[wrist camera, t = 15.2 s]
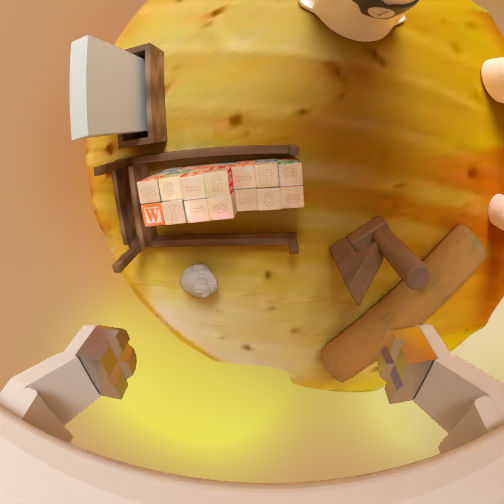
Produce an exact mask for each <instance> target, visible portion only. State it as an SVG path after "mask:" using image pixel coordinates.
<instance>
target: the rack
mask: <svg viewBox="0 0 504 504" xmlns="http://www.w3.org/2000/svg"><path fill="white" fill-rule="evenodd" d="M269 153H289V154H290V155H299V146H296V145H252V146H231V147H216V148H203V149H192V150H182V151H173V152H165V153H157V154H149V155H142V156H136V157H129V158H123V159H119V160H115V162H111V163H108V164H104V165H101V166H98V167H94V175H95V176H98V175H103V174H105V173H108V172H111V171H112V179H113V186H114V193H115V199H116V206H117V211H118V217H119V222H120V228H121V233H122V238H123V243H124V245H129V248H130V249H129V250H128V251H127V252H126V253H124V254H123V255H122V256H121V257H120V258H119V259H118V260H117V261H116V262H115V263H114V264H113V265H112V266H113V270H114V272H115V273H116V272H117V273H121V272H122V271H123V269H124V268H125V267H126V266H127V265H128V264H129V263H130V262H131V261H132V260H133V259H134V258H135V257H136V255H137V254H138V253H139V252H140V251H141V250H142V249H146V248H147V247H183V246H237V245H289V248H290V254H298V248H299V246H298V242H297V238H296V234H295V233H242V234H200V235H168V236H158V234H157V228H156V226H147V227H146V226H145V223H144V219H143V214H142V209H141V205H142V204H140V198H139V192H138V186H137V182H139V181H141V180H143V179H146V178H147V177H149V167H148V163H149V162H157V161H165V160H174V159H184V158H195V157H207V156H221V155H239V154H269ZM134 164H136V165H134ZM130 165H133V166H130ZM126 166H130V167H128V171H129V179H130V187H131V194H132V201H133V207H134V213H135V219H136V225H137V231H138V236H139V237H137V234H136V229H135V223H134V218H133V212H132V205H131V199H130V192H129V185H128V177H127V169H126Z"/></svg>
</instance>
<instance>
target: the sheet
mask: <svg viewBox="0 0 504 504" xmlns="http://www.w3.org/2000/svg"><path fill="white" fill-rule="evenodd" d="M70 119H71V134H72V140H76V139H82V138H90V137H98V136H106V135H116V134H127V133H141V132H148V128H147V112H146V89H145V60H144V59H142V58H140V57H138V56H136V55H134V54H132V53H130V52H128V51H125V50H123V49H121V48H119V47H116V46H114V45H112V44H109V43H107V42H105V41H102V40H99V39H97V38H95V37H92V36H90V35H87V36H85V37H82V38H80V39H78V40H75V41H73V42H72V43H71V58H70Z"/></svg>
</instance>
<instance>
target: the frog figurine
mask: <svg viewBox="0 0 504 504" xmlns="http://www.w3.org/2000/svg"><path fill="white" fill-rule="evenodd" d="M217 284H218V283H217V279H216V278H215V276H214V275H213V273H212V271H211V269H210V268H209V267H208V266H207V265H205V264H194V265H192V266H190V267H188V268H186V269H185V270H184V271H183V273H182V277H181V279H180V285H181V287H182V288H183V290H184V291H186V292H187V293H189V294H191V295H193V296H195V297H201V298H206V297H208V296H211V295H212V294H213V293H215V292H216V291H217Z"/></svg>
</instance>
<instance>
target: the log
mask: <svg viewBox="0 0 504 504" xmlns="http://www.w3.org/2000/svg"><path fill="white" fill-rule="evenodd" d="M486 256H487V252H486V249H485V247H484V246H483V244H482V243H481V241H480V240H479V239H478V238H477V236H476V235H475V234H474V233H473V232H472V231H471V230H470V229H468V228H467V227H466V226H464V225H462V224H459V225H458V226H457V227H455V228H454V229H453V230H452V231H451V232H450V233H449V234H448V235H447V237H446V238H445V239H444V240H443V241H442V242H441V243H440V244H439V245H438V246H437V247H436V248H435V249H434V250H433V251H432V252H431V253H430V254H429V255H428V256H427V257H426V258H425V259H424V260H423V261H422V262H423V263H424V264H425V265H426V266H427V268H428V269H429V279H428V281H427V283H426V284H425V285H424V286H423V287H422V288H420V289H417V290H413V289H410V288H408V287H407V285H406V284H405V283H404V281H402V282H400V283H399V284H398V285H397V286H396V287H395V288H394V289H393V290H392V291H391V292H390V293H388V294H387V295H386V296H385V297H384V298H383V299H382V300H381V301H379V302H378V303H377V304H376V305H375V306H374V307H372V308H371V309H370V310H369V311H368V312H367V313H365V314H364V315H363V316H362V317H361V318H359V319H358V320H357V321H356V322H355V323H353V324H352V325H351V326H350V327H348V328H347V329H346V330H345V331H343V332H342V333H341V334H340V335H338V336H337V337H336V338H335V339H333V340H332V341H331V342H329V343H328V344H327V345H326V346H325V347H324V348H323V349H322V350H321V356H322V359H323V362H324V364H325V366H326V368H327V370H328V371H329V373H330V374H331V375H332V376H333V377H334V378H335V379H336V380H338V381H340V382H344V381H346V380H348V379H350V378H351V377H353V376H354V375H356V374H357V373H359V372H360V371H362V370H363V369H365V368H366V367H368V366H369V365H371V364H372V363H374V362H375V361H377V360H378V356H379V353H380V350H381V349H382V348H383V347H384V346H385V345H386V343H385V341H384V337H385V333H386V332H387V330H388V329H395V328H403V327H410V326H416V325H421V324H422V323H423V322H425V321H426V320H427V319H428V318H429V317H430V316H431V315H432V314H433V313H435V312H436V311H437V310H438V309H439V308H440V307H441V306H442V305H443V304H444V303H445V302H446V301H447V300H448V299H449V298H450V297H451V296H452V295H453V294H454V293H455V292H456V291H457V290H458V289H459V288H460V287H461V286H462V285H463V284H464V283H465V282H466V281H467V280H468V279H469V278H470V277H471V275H472V274H473V273H474V272H475V271H476V270H477V269H478V267H479V266H480V265H481V264H482V263H483V261H484V260H485V258H486Z"/></svg>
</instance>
